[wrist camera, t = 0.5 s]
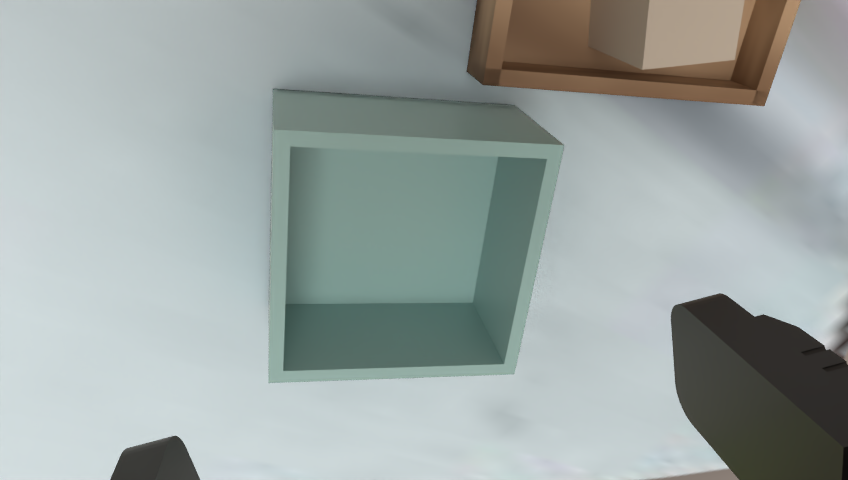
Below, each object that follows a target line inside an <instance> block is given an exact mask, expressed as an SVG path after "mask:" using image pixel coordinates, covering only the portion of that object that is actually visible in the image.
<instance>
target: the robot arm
mask: <svg viewBox="0 0 848 480" xmlns="http://www.w3.org/2000/svg"><path fill="white" fill-rule="evenodd" d="M671 326H672V341H673V356H674V371H675V384H676V390H677V394H678V398H679V401H680V403H681V406H682V408H683V410H684V412H685V414H686V416H687V418H688V419H689V421H690V422H691V423H692V425H693V426H694V427H695V428H696V429H697V430H698V432H699V433H700V434H701V435H702V436H703V438H704V439H705V440H706V441H707V442H708V443H709V445H710V446H711V447H712V448H713V449H714V451H715V452H716V453H717V454H718V455H719V456H720V458H721V459H722V460H723V461H724V462H725V463H726V465H727V466H728V467H729V468H730V469H731V471H732V472H733V473H734V474H735V475H736V476H737V478H738V479H739V480H848V365H847V363H846V361H845V360H844V359H842V358H841V357H839V356H838V355H837V354H835V353H834V352H832V351H831V350H830V349H829V350H826V349H825V347H824V345H823V344H821V343H820V342H818V341H817V340H816V339H814V338H813V337H811V336H810V335H809V334H807V333H806V332H804V331H803V330H802V329H800V328H799V327H797V326H794V325H791V324H788V323H786V322H783V321H780V320H777V319H775V318H772V317H769V316H767V315H760V316H756V317H754V316H753V315H751V314H750V313H749V312H747V311H746V310H745V309H744V308H742V307H741V306H740V305H738V304H737V303H736V302H734V301H733V300H732V299H730V298H729V297H728V296H726V295H724V294H716V295H712V296H708V297H704V298H701V299H697V300H693V301H689V302H685V303H682V304H678V305H675V306H674V307H673V309H672V312H671ZM110 480H200V478H199V476H198V474H197V472H196V469H195V467H194V465H193V462H192V460H191V458H190V456H189V453H188V451H187V449H186V447H185V445H184V443H183V441H182V440H181V439H180V438H179V437H177V436H172V437H168V438H164V439H161V440H157V441H153V442H149V443H145V444H142V445H138V446H134V447H130V448H127V449H125V450H124V451H123V452H122V454H121V456H120V458H119V461H118V463H117V465H116V468H115V470H114V472H113V475H112V477H111V479H110Z"/></svg>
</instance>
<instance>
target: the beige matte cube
mask: <svg viewBox="0 0 848 480" xmlns="http://www.w3.org/2000/svg"><path fill="white" fill-rule="evenodd" d="M744 1H745V0H591V7H590V23H589V39H588V47H591V48H593V49H595V50H598V51H600V52H602V53H605V54H607V55H609V56H612V57H614V58H616V59H618V60H621V61H623V62H625V63H628V64H630V65H632V66H635V67H637V68H639V69H642V70H646V69H655V68H664V67H674V66H683V65H692V64H701V63H711V62H720V61H729V60H735V56H736V50H737V44H738V37H739V31H740V25H741V19H742V13H743V7H744Z"/></svg>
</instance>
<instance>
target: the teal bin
mask: <svg viewBox="0 0 848 480" xmlns="http://www.w3.org/2000/svg"><path fill="white" fill-rule="evenodd" d="M563 149H564V145H563V144H562V143H561V142H560V141H558V140H557V139H556V138H555V137H553V136H552V135H551V134H550V133H549V132H547V131H546V130H545V129H544V128H542V127H541V126H540V125H539V124H537V123H536V122H535V121H534V120H532V119H531V118H530V117H529V116H527V115H526V114H525V113H524V112H522V111H521V110H520V109H519V108H517V107H516V106H515V105H503V104H488V103H473V102H459V101H444V100H429V99H415V98H400V97H385V96H371V95H356V94H341V93H327V92H312V91H297V90H283V89H273V119H272V172H271V224H270V276H269V383H282V382H310V381H338V380H367V379H395V378H423V377H451V376H480V375H508V374H514V373H515V368H516V364H517V359H518V354H519V350H520V345H521V341H522V336H523V332H524V327H525V322H526V318H527V313H528V309H529V304H530V300H531V295H532V291H533V286H534V281H535V277H536V272H537V268H538V263H539V259H540V254H541V249H542V245H543V240H544V236H545V231H546V227H547V222H548V217H549V213H550V208H551V204H552V199H553V195H554V190H555V186H556V181H557V176H558V172H559V167H560V163H561V158H562V154H563Z"/></svg>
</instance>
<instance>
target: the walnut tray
mask: <svg viewBox="0 0 848 480" xmlns="http://www.w3.org/2000/svg"><path fill="white" fill-rule="evenodd" d="M800 2H801V0H745V1H744V7H743V13H742V19H741V25H740V31H739V37H738V44H737V50H736V56H735V60H729V61H720V62H711V63H701V64H692V65H683V66H674V67H664V68H655V69H646V70H642V69H639V68H637V67H635V66H632V65H630V64H628V63H625V62H623V61H621V60H618V59H616V58H614V57H612V56H609V55H607V54H605V53H602V52H600V51H598V50H595V49H593V48H591V47H588V39H589V23H590V7H591V0H477V5H476V11H475V18H474V25H473V32H472V39H471V46H470V53H469V60H468V67H467V72H468V73H469V74H470V75H472V76H473V77H474V78H475V79H476V80H478V81H479V82H480V83H481V84H482V85H491V86H504V87H517V88H530V89H544V90H557V91H570V92H584V93H597V94H610V95H624V96H637V97H650V98H663V99H677V100H690V101H703V102H717V103H730V104H743V105H756V106H765V103H766V100H767V97H768V94H769V91H770V88H771V85H772V82H773V80H774V77H775V74H776V71H777V68H778V65H779V62H780V59H781V56H782V54H783V51H784V48H785V45H786V42H787V39H788V36H789V33H790V30H791V28H792V25H793V22H794V19H795V16H796V13H797V10H798V7H799V5H800Z"/></svg>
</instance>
